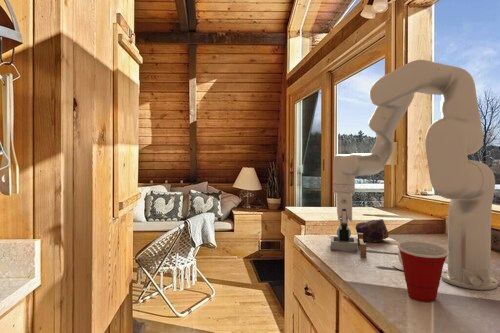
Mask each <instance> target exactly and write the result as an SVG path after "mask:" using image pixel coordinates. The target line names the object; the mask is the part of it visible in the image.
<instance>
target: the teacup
mask: <svg viewBox="0 0 500 333" xmlns="http://www.w3.org/2000/svg"><path fill="white" fill-rule="evenodd" d="M397 258H398V262H394V263H392V266H393V267H394V268H396V269H398V270H401V271H404V269H403V263H402V259H401V254H400V250H399V249H398V250H397Z"/></svg>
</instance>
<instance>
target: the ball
mask: <svg viewBox="0 0 500 333" xmlns="http://www.w3.org/2000/svg"><path fill="white" fill-rule="evenodd" d="M339 229H340V227H338V228H337V230H336V235H337V236H336V237H339ZM346 230H347V229H346ZM348 230H349V238H350V237H351V235H352V231H351V229H350V227H348Z"/></svg>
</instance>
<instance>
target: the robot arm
mask: <svg viewBox="0 0 500 333" xmlns="http://www.w3.org/2000/svg"><path fill="white" fill-rule="evenodd" d="M415 93H420V94H425V95H434V96H435V95H437V96H441V100H440V114H441V118H439V119H436V120H434V122H432V123H431V124H430V126H429V127H428V129H427V131H426V134H425V138H424V141H425V143H424V144H425V152H426V161H427V166H428V173H429V174H428V175H429V181H430V184H431V186H432V188H433V190H434V191H435V193H436V194H437V195H438V196H440V197H442V198H443V199H445V200H450V201H449V204H448V213H447V215H448V217H447V249H448V250H449V255H448V256H447V270H444V271H443V270H442V274H441V279H442V281H444V282H446V283H447V284H450V285H453V286H455V287H459V288H464V289H470V290H477V291H478V290H479V291H480V290H481V291H486V290H488V291H490V290H493V289H497V288H498V286H499V281H498V280H497V279H496V278H495V277H493V276H491V274H492V273H491V270H492V269H491V266H492V265H491V263H492V262H491V261H492V260H491V259H492V258H491V255H492V253H491V252H492V250H491V249H492V241H491V240H492V209H493V200H494V194H495V189H496V188H495V187H496V177H495V174H494V172H493V170H492V169H491V168H490V167H489V165H488V164H485V163H484V162H481V161H478V160H474V159H473V160H471V159H469V158H468V156H469V155H473V154H475V153H476V152H479V151H480V150H481V148H482V146H483V143H484V133H483V127H482V121H481V115H480V110H479V105H478V103H479V102H478V97H477V89H476V83H475V81H474V78H473V76H472V75H471V73H469V71H468V70H466V69H464V68H463V67H459V66H454V65H450V64H449V65H448V64H445V63H444V64H443V63H440V62H434V61H431V60H427V59H417V60H412V61H409V62H407V63H405V64H404V65H402V66H400V67H398V68H395V69H394V70H393V71H390V72H389V73H386V74H384V75H383V76H382V77H380V78H378V79H377V80H376V81H375V82H374V83H373V84H372V86H371V88H370V90H369V93H368V94H369V95H368V96H369V100H370V102H371V104H373V105H374V106H376V108H375V109H374V112H373V113H372V115H371V117H370V118H369V120H368V127H369V129H370V130H371V131H372V132H373V133H375V136H376V137H375V138H376V139H375V143H374V145H373V147H372V149H371V150H370V152H369V153H366V152H365V153H364V152H363V153H351V154H344V153H343V154H335V155H334V156H333V158H332V169H333V170H332V174H333V175H332V189H333V190H332V193H334V194H336V213H337V215H336V216H337V220H338V221H339V227H340V229H339V240H340V241H349V230H348V228H349V221H350V222H353V195H352V194H356V193H355V192H356V191H355V190H356V184H355V183H356V179H355V178H356V176H362V177H363V176H370V175H371V176H375V175H377V174H379V173H380V172H381V171H382V170H383V169H384V168H385V166H386V165H387V163H388V161H389V159H390V158H391V156H392V153H393V152H394V151H393V149H394V135H395V131H396V130H397V128H398V126H399V125H400V123H401V121H402V119H403V117H404V115H406V112H407V111H408V109H409V107H410V105H411V104H412V102H413V100H414V98H415ZM339 227H338V228H339ZM346 229H347V230H346Z"/></svg>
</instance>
